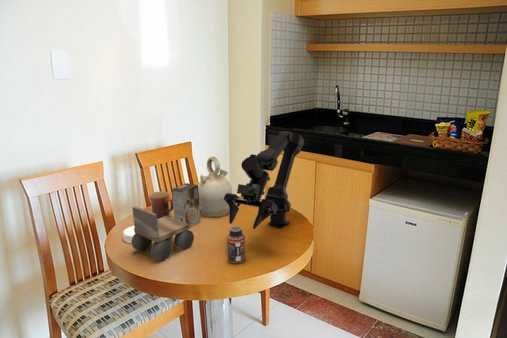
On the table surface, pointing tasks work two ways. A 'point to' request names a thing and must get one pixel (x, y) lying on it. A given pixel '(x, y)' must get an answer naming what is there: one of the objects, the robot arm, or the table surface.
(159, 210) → the mug
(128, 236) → the coaster
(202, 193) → the jug
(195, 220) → the coffee box
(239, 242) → the supplement bottle
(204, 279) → the table surface
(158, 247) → the trolley
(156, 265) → the table surface
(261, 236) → the table surface
